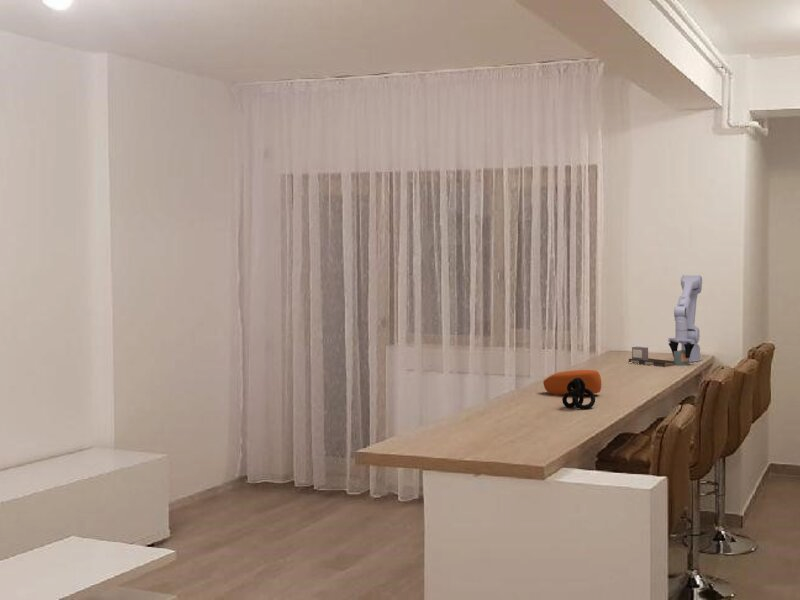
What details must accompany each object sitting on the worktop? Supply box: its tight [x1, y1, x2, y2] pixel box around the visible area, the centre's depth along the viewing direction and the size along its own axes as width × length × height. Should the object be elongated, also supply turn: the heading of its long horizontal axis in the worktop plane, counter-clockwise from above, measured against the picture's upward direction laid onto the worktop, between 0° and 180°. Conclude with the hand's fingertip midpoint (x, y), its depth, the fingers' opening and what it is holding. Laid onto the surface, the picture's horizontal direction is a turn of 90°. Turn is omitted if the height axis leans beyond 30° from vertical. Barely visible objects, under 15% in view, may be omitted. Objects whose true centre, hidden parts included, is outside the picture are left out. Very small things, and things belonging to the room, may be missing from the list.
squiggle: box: [561, 377, 596, 410], centre depth 424 cm, size 11×10×15 cm
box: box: [631, 346, 649, 361], centre depth 549 cm, size 4×7×7 cm, turn 39°
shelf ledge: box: [628, 357, 675, 368], centre depth 544 cm, size 8×22×2 cm, turn 38°
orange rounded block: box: [542, 369, 602, 396], centre depth 455 cm, size 12×11×25 cm
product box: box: [673, 349, 690, 367], centre depth 539 cm, size 4×7×7 cm, turn 129°
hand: (681, 357), depth 539 cm, fingers open, 7 cm apart
